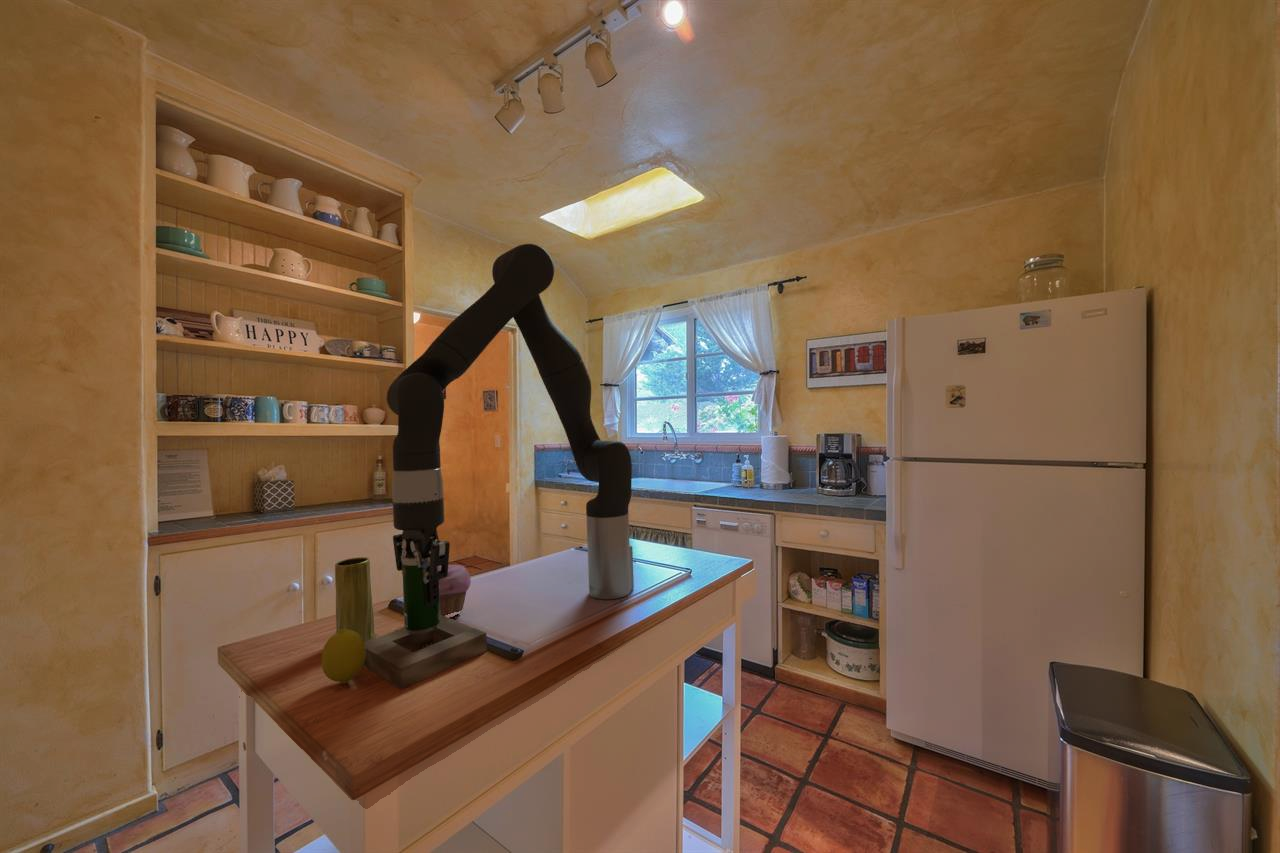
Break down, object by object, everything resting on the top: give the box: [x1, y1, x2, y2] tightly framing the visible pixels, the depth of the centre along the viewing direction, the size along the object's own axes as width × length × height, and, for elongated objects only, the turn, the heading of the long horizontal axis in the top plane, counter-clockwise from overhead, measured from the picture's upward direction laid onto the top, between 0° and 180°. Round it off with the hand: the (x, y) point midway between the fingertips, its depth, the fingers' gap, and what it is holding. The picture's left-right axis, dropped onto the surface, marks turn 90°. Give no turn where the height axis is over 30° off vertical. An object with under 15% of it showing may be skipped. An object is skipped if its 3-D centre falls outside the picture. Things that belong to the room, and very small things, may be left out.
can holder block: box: [363, 615, 488, 690], centre depth 78 cm, size 14×14×3 cm
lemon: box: [321, 629, 366, 685], centre depth 71 cm, size 6×6×8 cm
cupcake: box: [439, 564, 472, 616], centre depth 96 cm, size 9×9×10 cm
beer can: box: [401, 555, 441, 635], centre depth 78 cm, size 5×5×12 cm
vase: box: [334, 556, 376, 642], centre depth 85 cm, size 6×6×14 cm
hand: (422, 600), depth 78 cm, fingers closed on beer can, 5 cm apart
